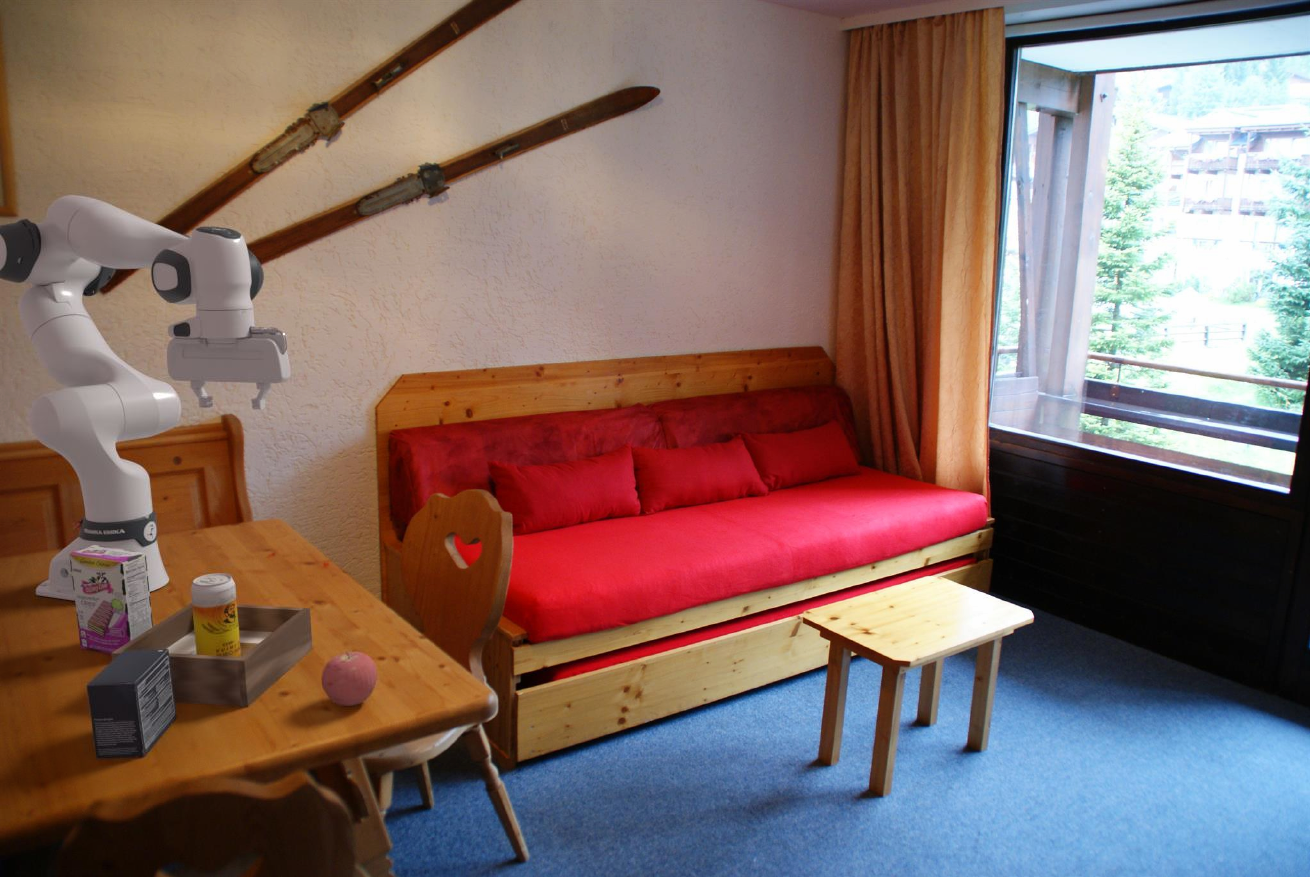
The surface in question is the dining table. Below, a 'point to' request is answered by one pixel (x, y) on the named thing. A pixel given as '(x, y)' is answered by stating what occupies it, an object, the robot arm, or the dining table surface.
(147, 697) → the small box
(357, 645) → the dining table surface
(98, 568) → the candy bar box
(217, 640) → the beer can
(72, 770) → the dining table surface
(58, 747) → the dining table surface
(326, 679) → the apple
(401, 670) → the dining table surface
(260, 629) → the wooden box
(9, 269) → the robot arm
